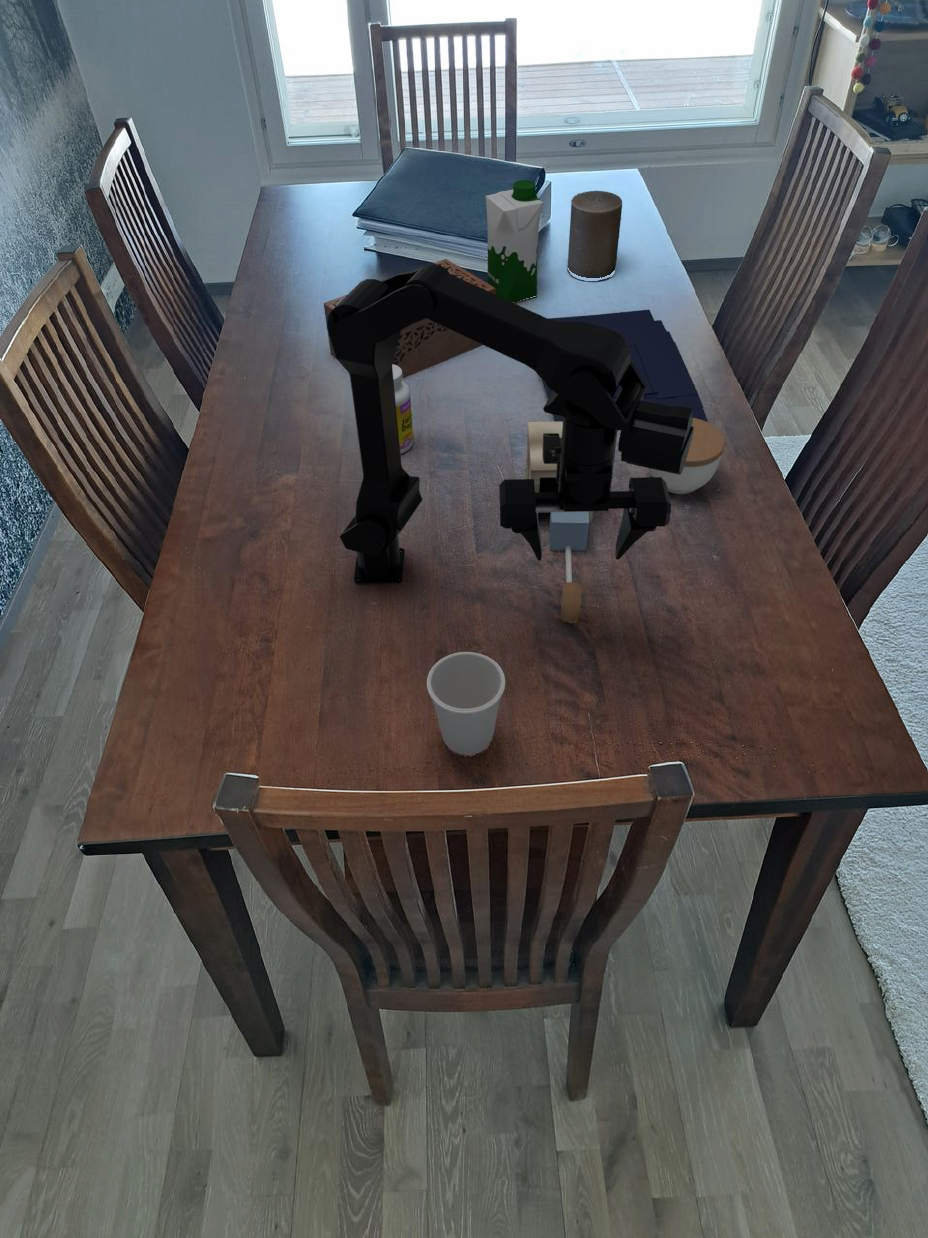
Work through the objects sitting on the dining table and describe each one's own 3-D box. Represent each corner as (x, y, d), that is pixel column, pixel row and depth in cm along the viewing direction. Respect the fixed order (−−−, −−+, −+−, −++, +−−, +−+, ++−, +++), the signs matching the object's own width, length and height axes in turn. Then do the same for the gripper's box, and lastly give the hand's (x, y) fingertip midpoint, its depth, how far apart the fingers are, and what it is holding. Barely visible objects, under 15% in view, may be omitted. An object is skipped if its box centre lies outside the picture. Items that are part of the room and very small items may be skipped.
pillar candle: (623, 266, 182) (632, 189, 171) (602, 286, 176) (609, 208, 165) (580, 255, 185) (585, 179, 174) (557, 275, 180) (562, 197, 169)
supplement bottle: (408, 459, 140) (402, 386, 130) (366, 454, 141) (357, 382, 131) (418, 434, 144) (413, 361, 135) (377, 429, 145) (370, 357, 136)
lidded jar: (718, 465, 137) (730, 412, 130) (711, 509, 130) (724, 456, 123) (646, 454, 139) (655, 402, 132) (636, 497, 132) (644, 444, 125)
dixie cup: (504, 707, 106) (505, 651, 99) (503, 767, 101) (504, 712, 93) (433, 706, 107) (429, 649, 100) (428, 765, 101) (423, 710, 94)
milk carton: (543, 298, 173) (548, 190, 159) (500, 309, 171) (502, 200, 156) (522, 279, 179) (525, 173, 164) (480, 289, 176) (479, 182, 162)
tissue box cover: (448, 310, 172) (446, 258, 164) (495, 341, 164) (495, 288, 156) (331, 355, 161) (323, 302, 154) (375, 391, 153) (369, 337, 146)
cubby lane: (591, 521, 129) (597, 469, 122) (529, 522, 129) (531, 470, 122) (585, 472, 136) (590, 421, 130) (526, 473, 137) (527, 421, 130)
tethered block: (589, 623, 115) (593, 596, 112) (550, 622, 116) (552, 594, 112) (585, 526, 128) (587, 499, 124) (549, 526, 128) (551, 498, 125)
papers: (657, 321, 164) (660, 304, 161) (706, 434, 147) (711, 416, 144) (524, 333, 162) (525, 315, 159) (558, 448, 145) (560, 431, 142)
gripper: (665, 404, 102) (648, 512, 113) (498, 407, 102) (498, 514, 114) (680, 465, 94) (660, 574, 106) (500, 468, 95) (500, 576, 106)
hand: (578, 557), depth 108 cm, fingers open, 9 cm apart
